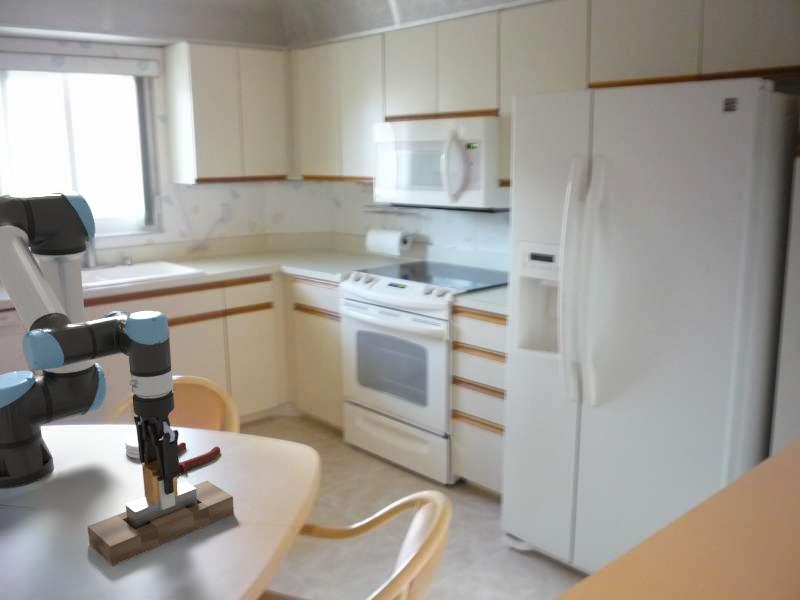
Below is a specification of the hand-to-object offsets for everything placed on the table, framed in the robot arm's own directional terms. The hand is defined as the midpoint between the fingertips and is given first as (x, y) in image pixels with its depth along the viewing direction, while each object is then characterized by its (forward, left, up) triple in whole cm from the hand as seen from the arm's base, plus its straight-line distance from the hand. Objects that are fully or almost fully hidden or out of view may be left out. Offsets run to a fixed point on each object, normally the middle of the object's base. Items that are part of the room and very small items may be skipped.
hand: (162, 502), depth 145 cm
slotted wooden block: (0, 0, -6) cm, 6 cm away
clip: (0, 0, -6) cm, 6 cm away
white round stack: (-37, +15, -6) cm, 40 cm away
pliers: (-24, +16, -7) cm, 30 cm away
